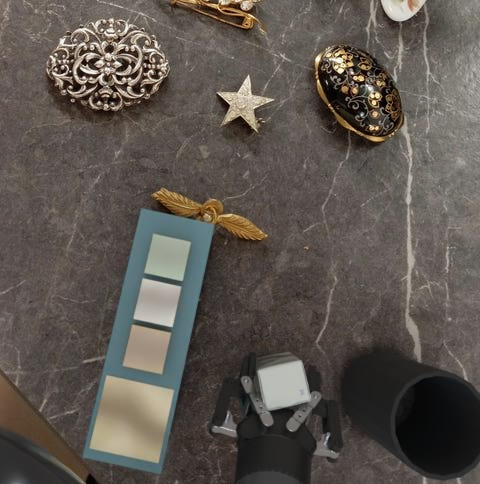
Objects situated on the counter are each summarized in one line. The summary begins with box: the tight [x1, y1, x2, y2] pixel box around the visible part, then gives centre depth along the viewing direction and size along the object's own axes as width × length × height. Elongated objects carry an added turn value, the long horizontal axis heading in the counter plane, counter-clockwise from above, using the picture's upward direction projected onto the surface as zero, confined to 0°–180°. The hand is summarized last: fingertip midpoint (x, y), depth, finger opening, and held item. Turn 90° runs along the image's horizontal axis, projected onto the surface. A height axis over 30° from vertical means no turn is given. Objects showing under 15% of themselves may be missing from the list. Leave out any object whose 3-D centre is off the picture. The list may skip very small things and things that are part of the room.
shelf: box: [81, 207, 216, 475], centre depth 106 cm, size 25×8×28 cm, turn 168°
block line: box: [89, 233, 191, 463], centre depth 90 cm, size 22×7×4 cm, turn 168°
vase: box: [340, 350, 480, 482], centre depth 104 cm, size 10×10×30 cm
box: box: [253, 351, 311, 411], centre depth 101 cm, size 5×4×13 cm
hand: (281, 363), depth 101 cm, fingers closed on box, 6 cm apart
